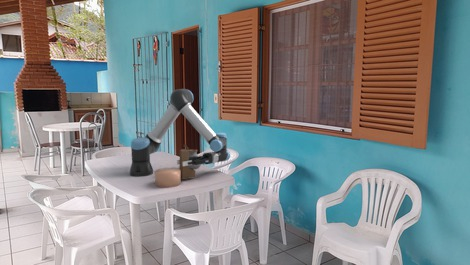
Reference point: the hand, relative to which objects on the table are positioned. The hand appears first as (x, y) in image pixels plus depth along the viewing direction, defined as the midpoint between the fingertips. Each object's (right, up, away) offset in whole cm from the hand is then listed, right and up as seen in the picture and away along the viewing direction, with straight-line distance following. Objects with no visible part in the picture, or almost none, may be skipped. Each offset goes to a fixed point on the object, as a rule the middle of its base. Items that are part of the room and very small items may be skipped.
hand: (180, 163), depth 209 cm
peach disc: (-6, -12, -5) cm, 14 cm away
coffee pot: (+1, -6, +39) cm, 39 cm away
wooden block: (+4, -10, +5) cm, 11 cm away
